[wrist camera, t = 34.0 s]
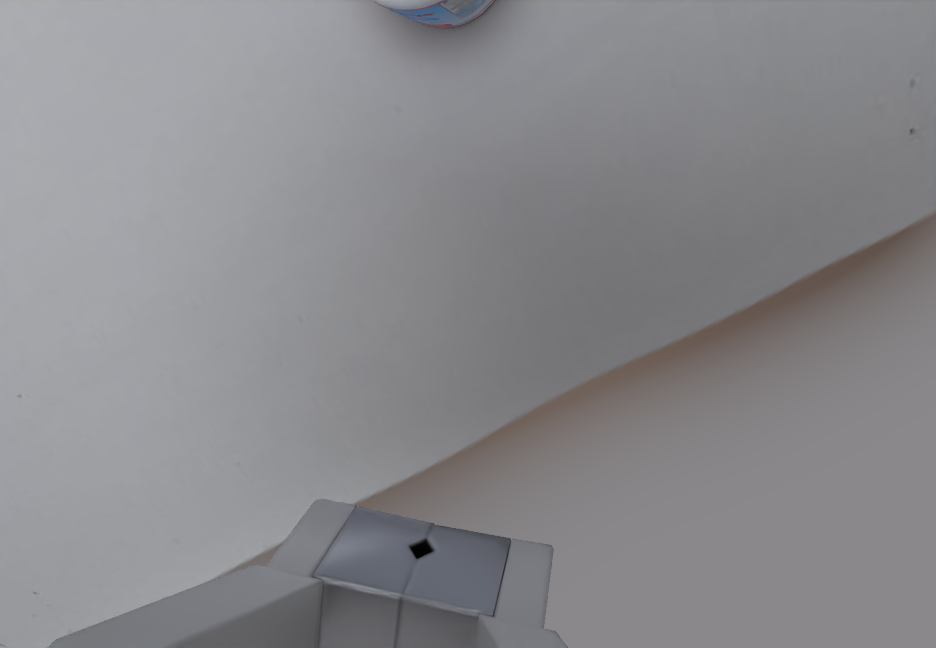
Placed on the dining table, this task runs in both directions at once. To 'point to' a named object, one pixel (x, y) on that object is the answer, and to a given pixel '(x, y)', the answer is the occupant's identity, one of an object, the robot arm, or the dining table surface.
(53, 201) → the dining table surface
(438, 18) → the pill bottle
